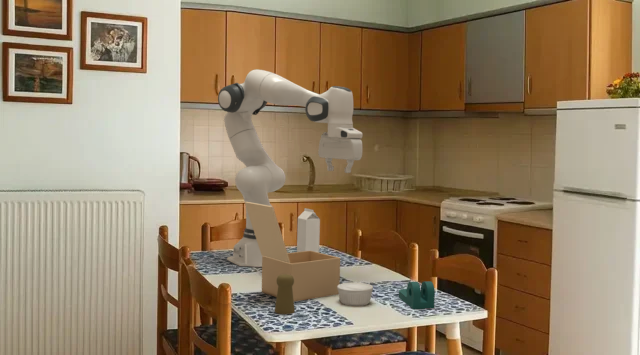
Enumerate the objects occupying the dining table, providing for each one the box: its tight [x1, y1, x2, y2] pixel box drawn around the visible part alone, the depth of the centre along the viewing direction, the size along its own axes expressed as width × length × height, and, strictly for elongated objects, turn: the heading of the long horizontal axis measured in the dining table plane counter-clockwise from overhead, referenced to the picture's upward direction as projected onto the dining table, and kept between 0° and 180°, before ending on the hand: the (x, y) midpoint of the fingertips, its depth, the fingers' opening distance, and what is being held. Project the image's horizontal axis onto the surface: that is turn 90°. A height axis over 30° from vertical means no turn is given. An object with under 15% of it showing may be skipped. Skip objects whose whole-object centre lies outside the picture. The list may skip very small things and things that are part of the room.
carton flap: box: [244, 201, 290, 263], centre depth 225 cm, size 15×19×1 cm
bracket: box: [398, 280, 436, 310], centre depth 227 cm, size 18×7×8 cm, turn 10°
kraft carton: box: [261, 251, 341, 303], centre depth 234 cm, size 16×20×12 cm
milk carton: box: [296, 207, 321, 253], centre depth 309 cm, size 7×7×19 cm
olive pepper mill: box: [274, 274, 296, 315], centre depth 211 cm, size 6×6×11 cm
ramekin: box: [337, 281, 374, 307], centre depth 224 cm, size 11×11×5 cm
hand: (338, 171), depth 252 cm, fingers open, 8 cm apart
